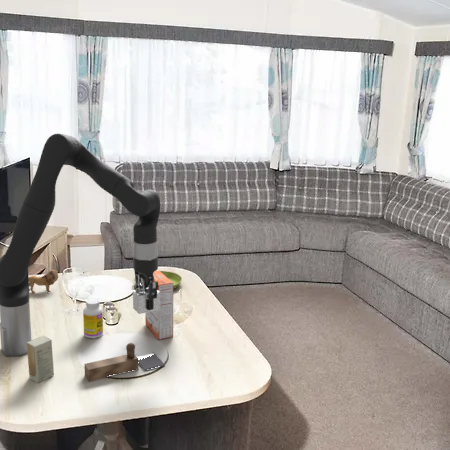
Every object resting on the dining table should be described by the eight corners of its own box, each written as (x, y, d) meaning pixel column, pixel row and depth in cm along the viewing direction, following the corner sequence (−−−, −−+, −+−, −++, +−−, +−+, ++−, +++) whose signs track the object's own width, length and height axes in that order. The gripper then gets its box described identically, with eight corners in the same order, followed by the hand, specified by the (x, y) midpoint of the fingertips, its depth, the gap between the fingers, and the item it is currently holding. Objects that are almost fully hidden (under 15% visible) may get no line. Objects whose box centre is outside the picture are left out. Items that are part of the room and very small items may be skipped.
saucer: (164, 274, 272) (164, 267, 271) (191, 287, 256) (191, 280, 256) (125, 283, 259) (125, 276, 258) (150, 298, 244) (150, 291, 243)
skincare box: (46, 370, 184) (44, 334, 181) (54, 375, 181) (52, 339, 178) (28, 378, 179) (25, 341, 176) (36, 383, 177) (34, 346, 173)
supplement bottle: (98, 340, 205) (97, 306, 202) (80, 337, 206) (79, 303, 203) (106, 332, 212) (105, 298, 208) (88, 329, 213) (87, 296, 209)
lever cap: (139, 314, 182) (138, 294, 180) (133, 308, 186) (132, 288, 184) (160, 309, 185) (159, 290, 183) (153, 304, 189) (153, 284, 187)
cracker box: (144, 324, 218) (144, 271, 213) (159, 322, 221) (159, 269, 216) (157, 340, 206) (158, 284, 201) (173, 337, 209) (174, 282, 204)
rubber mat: (144, 370, 186) (144, 369, 186) (134, 358, 193) (134, 356, 193) (164, 366, 189) (164, 364, 189) (153, 354, 197) (153, 352, 197)
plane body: (88, 381, 179) (87, 355, 176) (84, 375, 182) (83, 350, 180) (138, 369, 186) (138, 344, 184) (133, 364, 190) (133, 339, 187)
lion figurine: (58, 287, 251) (57, 267, 248) (59, 292, 246) (58, 272, 243) (22, 290, 247) (21, 270, 244) (21, 295, 242) (20, 274, 239)
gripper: (125, 250, 185) (127, 300, 189) (142, 263, 173) (143, 317, 177) (148, 247, 188) (149, 296, 193) (166, 260, 176) (166, 312, 181)
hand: (146, 306), depth 185 cm, fingers closed on lever cap, 5 cm apart
